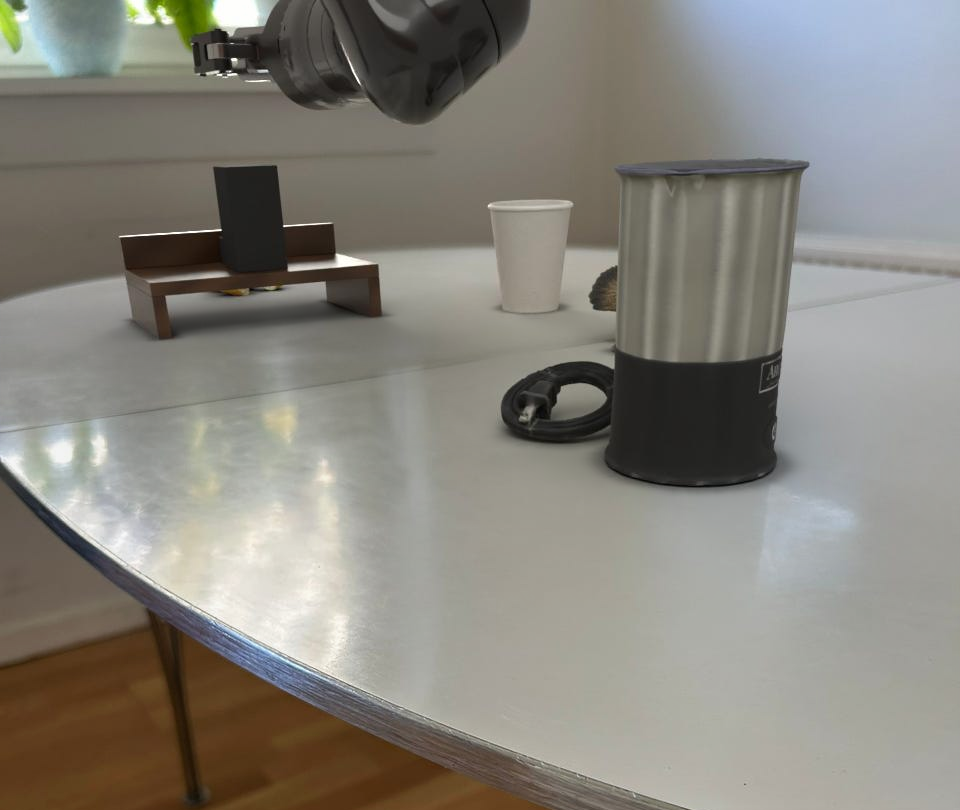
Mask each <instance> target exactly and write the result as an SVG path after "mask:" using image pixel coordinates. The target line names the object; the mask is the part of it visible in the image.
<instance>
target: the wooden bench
mask: <svg viewBox="0 0 960 810" xmlns="http://www.w3.org/2000/svg"><path fill="white" fill-rule="evenodd" d="M283 226H284V236H285V245H286V255H287V264H288V269H280V270H268V271H256V272H243V273H238V272H236V271H233V270H231V269H228V268H226V265H225V264H223V263H222V259H221V251H220V244H219V237H222V231H221V229H212V230H197V231H196V230H195V231H180V232H179V231H178V232H166V233H165V232H164V233H148V234H135V235H119V236H118V243H119V249H120V255H121V259H122V265H123V272H124V276H125V277H124V278H125V281H126V287H127V288H126V289H127V293H128V299H129V304H130V310H131V316H132V320H133V322H134V323H136V324H137V325H139V326H140V327H141V328H143V329H144V330H145V331H146V332H148V333H149V334H151V335H152V337H155V339H157V340H158V341H161V340H171V339H173V336H172V330H171V323H170V317H169V310H168V303H167V297H168V296H180V295H190V294H203V293H215V292H216V291H219V292H220V291H225V290H236V289H248V288H250V289H258V288H263V287H270V286H281V285H283V286H290V285H301V284H303V285H304V284H313V283H324V284H325V293H326V301H327V302H328V303H330V304H334V305H335V306H336V305H337V306H338V307H341V308H345V309H347V310H350V311H353V312H356V313H359V314H361V315H364V316H366V317H369V318H377V317H383V313H382V311H383V310H382V296H381V283H380V267H379V263H376V262H371V261H369V260H365V259H364V260H363V259H360V258H355V257H351V256H348V255H344V254H340V253H337V248H336V236H335V223H334V222H322V223H321V222H320V223H303V224H290V225H289V224H288V225H283ZM281 287H282V286H281Z"/></svg>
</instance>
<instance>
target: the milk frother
mask: <svg viewBox="0 0 960 810" xmlns="http://www.w3.org/2000/svg"><path fill="white" fill-rule="evenodd" d="M810 165H811V164H810V161H805V160H800V159H798V160H796V159H789V158H788V159H787V158H784V159H779V158H762V157H758V158H744V159H743V158H742V159H735V158H722V159H721V158H720V159H710V158H709V159H692V160H690V159H688V160H686V159H685V160H667V161H666V160H665V161H645V162H638V163H637V162H636V163H626V164H625V163H624V164H619V165H616V166H614V168H613V170H614V172H615V173H616V174H617V175H618V176H619V179H620V180H619V181H620V183H619V212H618V213H619V214H618V246H617V266H618V272H617V301H616V312H615V335H614V336H615V337H614V338H615V341H616V342H615V343H616V345H615V352H614V368H612V367H610V366H608V365H605V364H603V363H599V362H595V361H588V360H576V361H567V362H560V363H557V364H554V365H551V366H547V367H544V368H543V369H541V370H540V369H539V370H536V371H535V372H531V373H529V374H527V375H526V377H524V378H521V379H520V380H518V381H517V382H515V383H514V384H513V385H512V386H511V387H509V389H507V391H506V392H505V393H504V395H503V397H502V399H501V402H500V415H501V416H500V417H501V419H502V422H503V423H504V424H505V426H506V427H508V428H509V429H511V430H512V431H514V432H515V433H518V434H521V435H524V436H526V437H531V438H533V439H540V440H550V441H570V440H576V439H580V438H584V437H588V436H591V435H594V434H596V433H599V432H601V431H603V430H605V429H607V428H608V427H609V426H610V428H609V429H610V430H609V437H608V438H609V439H608V444H607V446H606V448H605V450H604V456H603V457H604V461H605V462H606V463H607V464H608V466H609V467H611V469H614V470H615V471H616V472H618V473H620V474H623V475H625V476H629V477H632V478H634V479H635V478H637V479H639V480H644V481H647V482H652V483H656V484H662V485H663V484H664V485H674V486H689V487H697V486H699V487H702V486H720V485H721V486H722V485H731V484H738V483H744V482H748V481H753V480H755V479H758V478H761V477H763V476H765V475H767V474H768V473H770V472H772V470H774V468H775V467H776V466H777V463H778V455H777V453H776V451H775V443H776V439H777V429H778V428H777V427H778V416H777V408H778V398H779V384H780V378H781V373H782V364H783V363H782V362H783V350H784V348H783V346H784V340H785V333H786V326H787V325H786V324H787V317H788V316H787V315H788V305H789V296H790V286H791V277H792V269H793V260H794V259H793V257H794V249H795V239H796V229H797V219H798V209H799V201H800V191H801V182H802V175H803V173H804V172H805V171H806V170H807V169H808V168H809V167H810ZM576 384H577V385H578V384H586V385H590V386H592V387H594V388H596V389H598V390H600V391H601V392H603V394H604V395H605V397H606V400H605V401H604V403H603V404H602V405H601V406H600V407H598V408H597V409H595V410H594V411H592V412H590V413H587V414H584V415H582V416H577V417H573V418H567V419H551V414H552V411H553V410H552V409H553V408H554V407H555V406H556V405H557V404H558V395H559V394H560V393H561V390H562V387H564V386H569V385H576Z"/></svg>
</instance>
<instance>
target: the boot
mask: <svg viewBox="0 0 960 810" xmlns="http://www.w3.org/2000/svg"><path fill="white" fill-rule="evenodd" d="M212 171H213V177H214V186H215V192H216V193H215V194H216V200H217V207H218V208H217V209H218V216H219V223H220V230H221V231H222V237H219V244H220V251H221V259H222V263H223V264H225V265H226V268H228V269H231V270H233V271H236V272H238V273H243V272H256V271H268V270H280V269H288V264H287V255H286V245H285V236H284V226H285V225H284V218H283V217H284V216H283V210H282V209H283V208H282V200H281V199H282V198H281V189H280V180H279V172H278V171H279V170H278V165H277V164H263V163H261V164H239V165H235V164H234V165H213V166H212Z"/></svg>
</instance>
